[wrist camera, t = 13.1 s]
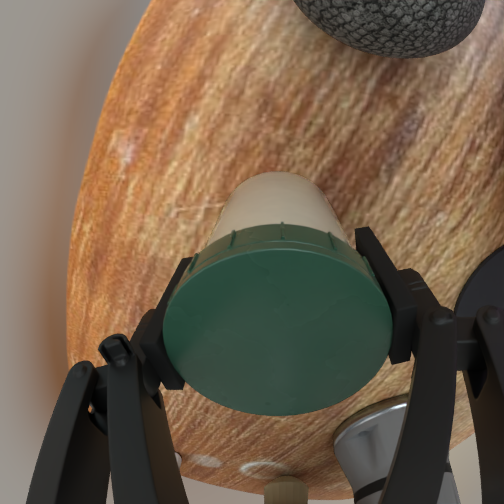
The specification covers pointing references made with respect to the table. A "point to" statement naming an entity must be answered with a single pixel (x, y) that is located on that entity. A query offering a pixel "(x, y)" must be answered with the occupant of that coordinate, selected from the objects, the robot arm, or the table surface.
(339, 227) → the jar
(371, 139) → the table surface
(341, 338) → the jar lid
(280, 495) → the decorative mushroom
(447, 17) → the decorative ball
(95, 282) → the table surface
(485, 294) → the coaster
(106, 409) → the robot arm
